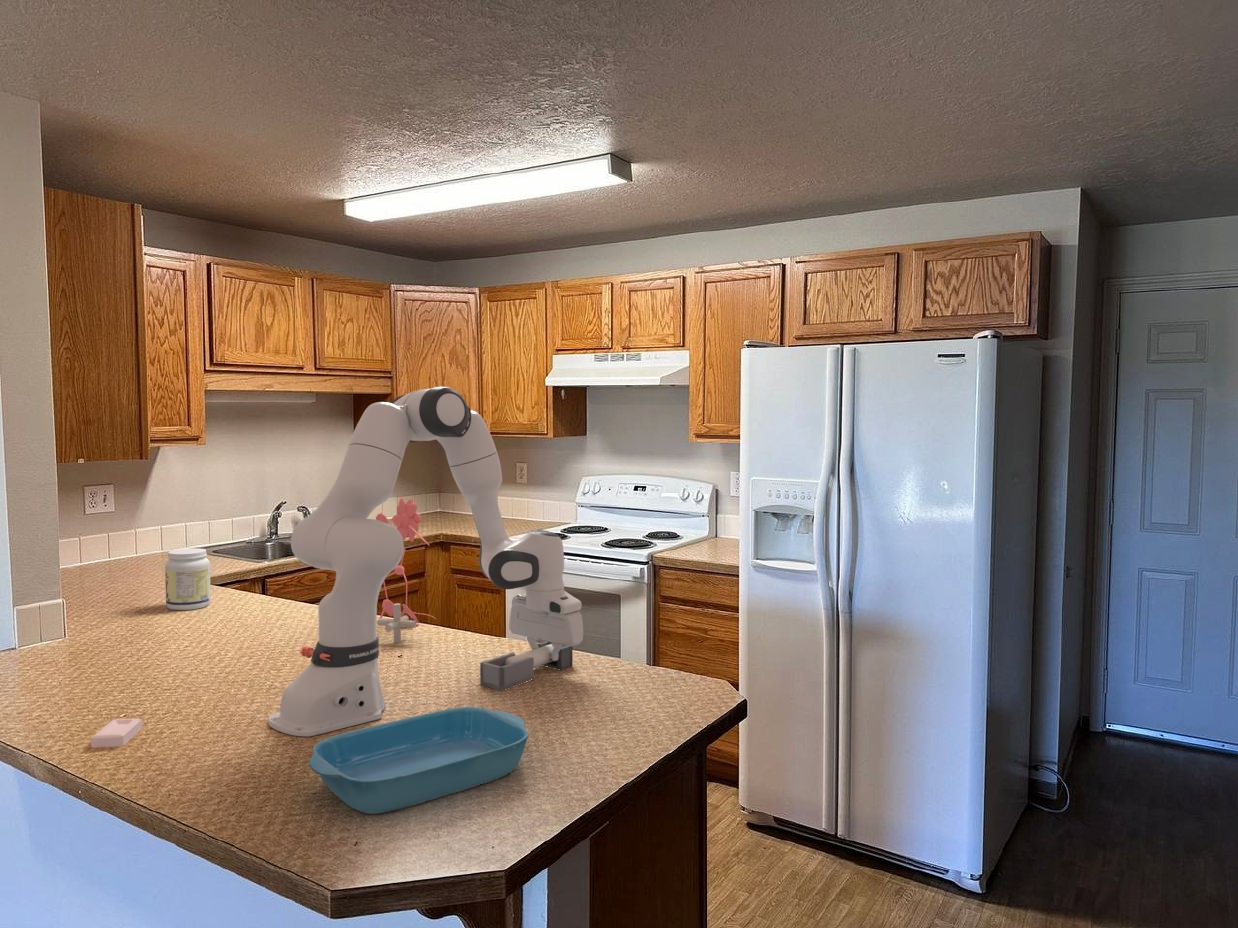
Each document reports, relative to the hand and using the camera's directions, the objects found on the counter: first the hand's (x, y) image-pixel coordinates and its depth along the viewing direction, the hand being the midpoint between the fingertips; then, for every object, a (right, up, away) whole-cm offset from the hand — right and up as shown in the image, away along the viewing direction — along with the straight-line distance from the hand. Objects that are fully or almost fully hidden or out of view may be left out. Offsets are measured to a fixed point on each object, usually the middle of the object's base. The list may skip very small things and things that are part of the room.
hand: (545, 658), depth 203 cm
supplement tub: (-113, +2, +60) cm, 128 cm away
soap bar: (-75, -6, -43) cm, 87 cm away
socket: (+2, -2, +3) cm, 4 cm away
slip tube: (-2, -1, -3) cm, 4 cm away
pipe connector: (-40, -1, +22) cm, 46 cm away
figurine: (-43, +1, +45) cm, 62 cm away
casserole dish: (-15, -7, -59) cm, 62 cm away
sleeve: (-8, -3, -10) cm, 13 cm away
